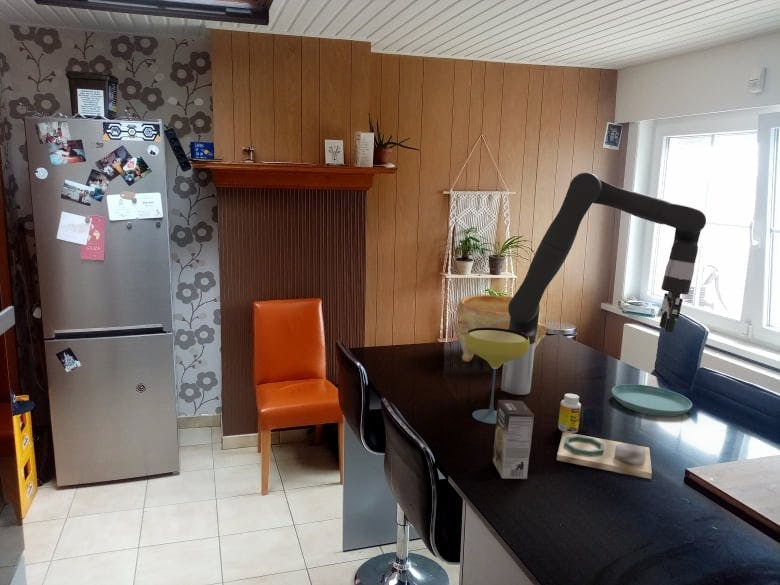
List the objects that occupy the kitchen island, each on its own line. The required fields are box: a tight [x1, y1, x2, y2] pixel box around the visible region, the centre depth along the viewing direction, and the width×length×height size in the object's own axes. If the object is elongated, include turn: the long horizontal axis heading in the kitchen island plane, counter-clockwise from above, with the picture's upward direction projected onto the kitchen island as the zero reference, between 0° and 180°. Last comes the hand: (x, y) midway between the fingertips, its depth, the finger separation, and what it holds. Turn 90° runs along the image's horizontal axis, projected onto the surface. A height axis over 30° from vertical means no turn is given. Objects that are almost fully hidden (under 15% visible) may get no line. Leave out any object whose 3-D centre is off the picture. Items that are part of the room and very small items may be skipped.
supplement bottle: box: [557, 393, 582, 434], centre depth 173 cm, size 6×6×10 cm
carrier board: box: [556, 431, 653, 480], centre depth 157 cm, size 22×16×4 cm
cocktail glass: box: [466, 328, 529, 425], centre depth 178 cm, size 18×18×25 cm
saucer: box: [611, 383, 693, 417], centre depth 198 cm, size 24×24×3 cm
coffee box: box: [492, 399, 535, 480], centre depth 145 cm, size 9×6×16 cm
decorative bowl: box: [453, 294, 547, 363], centre depth 241 cm, size 34×35×23 cm
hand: (665, 329), depth 183 cm, fingers open, 8 cm apart
